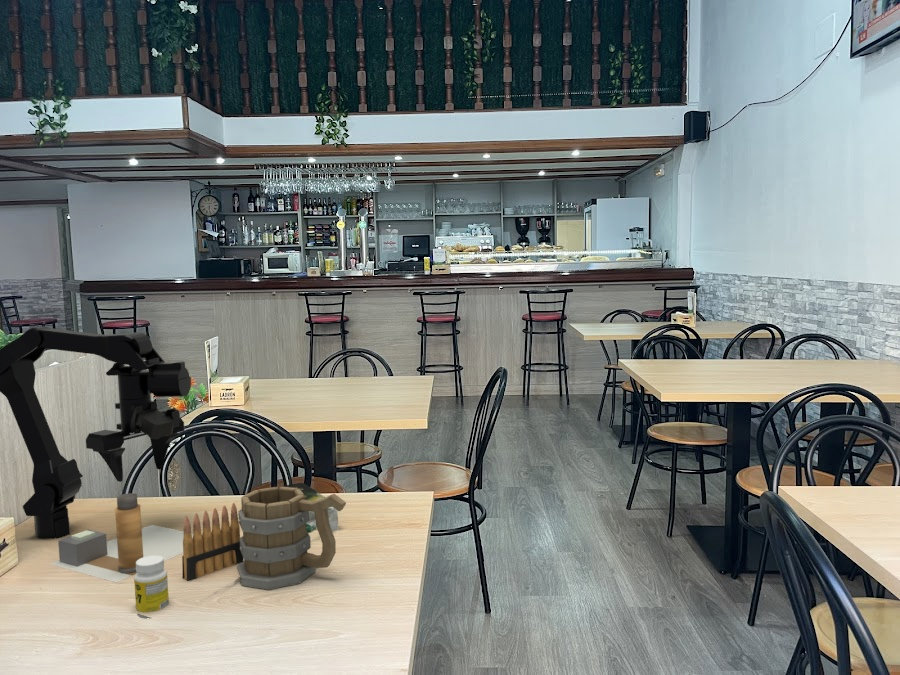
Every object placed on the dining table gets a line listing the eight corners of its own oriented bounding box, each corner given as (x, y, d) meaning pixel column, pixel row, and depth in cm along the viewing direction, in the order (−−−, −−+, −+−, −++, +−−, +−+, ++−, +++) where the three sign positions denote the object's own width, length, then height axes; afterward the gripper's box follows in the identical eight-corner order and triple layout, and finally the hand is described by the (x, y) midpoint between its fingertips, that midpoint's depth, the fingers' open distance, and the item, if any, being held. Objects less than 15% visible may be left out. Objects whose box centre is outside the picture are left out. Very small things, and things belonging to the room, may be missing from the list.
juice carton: (343, 531, 146) (341, 502, 145) (297, 543, 140) (295, 512, 140) (306, 507, 163) (304, 480, 162) (263, 516, 157) (262, 488, 157)
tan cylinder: (113, 570, 125) (108, 498, 124) (133, 562, 129) (129, 491, 128) (129, 575, 123) (124, 501, 122) (149, 566, 127) (145, 494, 126)
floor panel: (49, 570, 129) (49, 564, 129) (152, 530, 148) (151, 524, 148) (116, 589, 120) (116, 582, 120) (215, 544, 140) (215, 538, 140)
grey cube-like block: (59, 561, 130) (57, 537, 129) (89, 550, 135) (88, 526, 135) (77, 566, 127) (75, 541, 127) (107, 554, 133) (105, 530, 132)
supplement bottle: (134, 609, 113) (131, 557, 112) (166, 602, 115) (163, 551, 114) (138, 622, 109) (134, 568, 108) (171, 614, 111) (168, 561, 110)
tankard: (223, 583, 122) (218, 497, 121) (267, 555, 134) (263, 476, 132) (326, 600, 115) (322, 508, 113) (363, 569, 127) (360, 485, 125)
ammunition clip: (187, 588, 120) (183, 518, 119) (182, 585, 122) (178, 516, 120) (244, 568, 128) (241, 502, 127) (238, 565, 129) (235, 500, 128)
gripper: (121, 408, 129) (126, 493, 130) (201, 392, 145) (205, 467, 147) (81, 404, 134) (87, 486, 136) (163, 389, 151) (167, 462, 152)
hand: (140, 475), depth 142 cm, fingers open, 9 cm apart
